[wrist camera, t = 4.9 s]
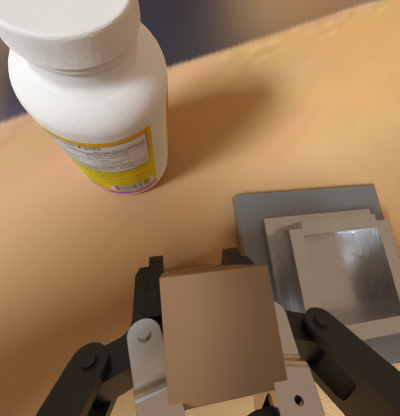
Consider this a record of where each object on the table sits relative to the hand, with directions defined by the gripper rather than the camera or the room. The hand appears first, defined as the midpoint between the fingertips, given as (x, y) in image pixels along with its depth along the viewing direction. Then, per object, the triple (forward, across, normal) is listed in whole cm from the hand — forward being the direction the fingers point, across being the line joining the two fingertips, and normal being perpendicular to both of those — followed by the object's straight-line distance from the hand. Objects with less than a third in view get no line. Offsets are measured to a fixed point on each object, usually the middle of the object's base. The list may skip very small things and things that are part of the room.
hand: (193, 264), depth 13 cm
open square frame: (+1, -11, +4) cm, 12 cm away
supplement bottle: (+10, +4, -3) cm, 11 cm away
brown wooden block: (+2, 0, +5) cm, 5 cm away
